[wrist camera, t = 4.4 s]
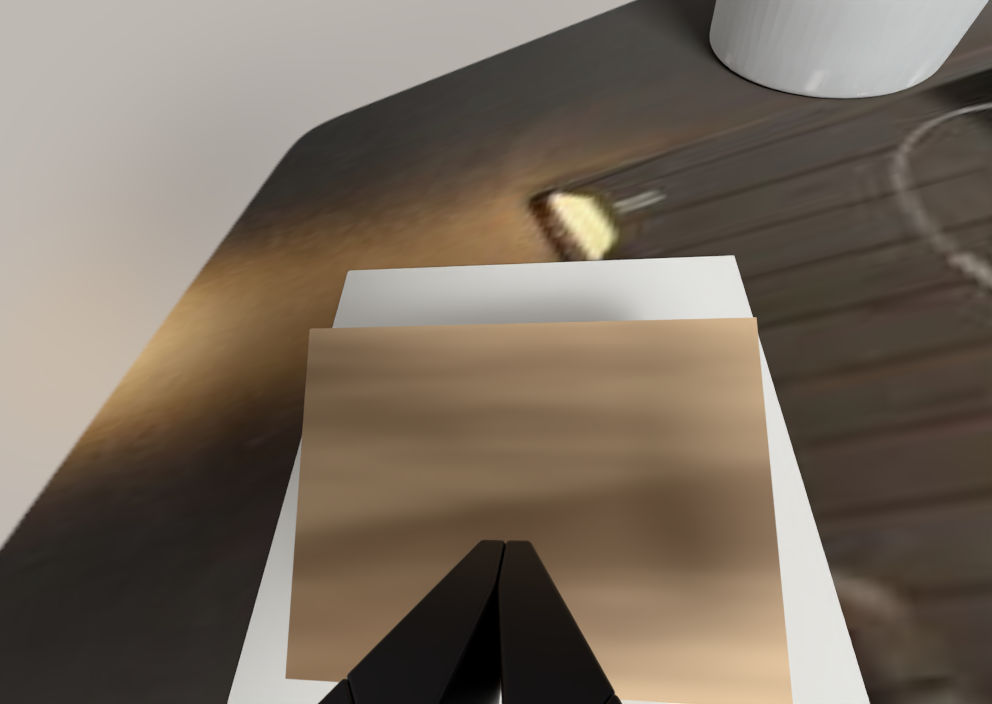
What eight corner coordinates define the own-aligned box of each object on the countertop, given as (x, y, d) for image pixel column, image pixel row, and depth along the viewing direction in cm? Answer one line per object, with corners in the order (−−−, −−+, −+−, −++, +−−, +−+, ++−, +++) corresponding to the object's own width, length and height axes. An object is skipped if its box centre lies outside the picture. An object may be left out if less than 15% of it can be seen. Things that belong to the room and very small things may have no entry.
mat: (1013, 1223, 9) (1035, 1251, 8) (135, 1075, 11) (118, 1093, 10) (730, 263, 22) (734, 255, 21) (351, 277, 24) (348, 270, 23)
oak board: (793, 710, 11) (756, 317, 12) (285, 679, 12) (309, 328, 13) (740, 650, 14) (716, 340, 15) (337, 630, 15) (352, 347, 16)
